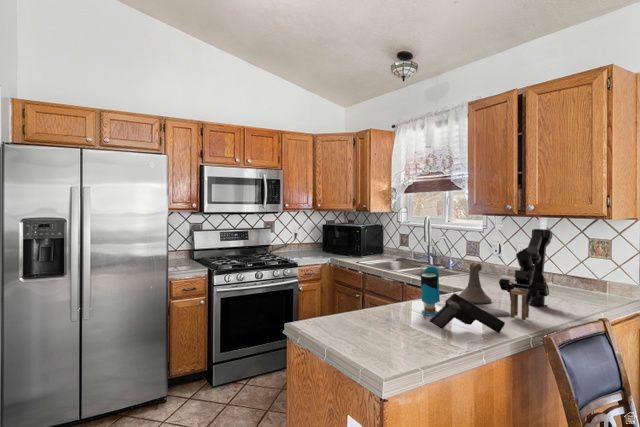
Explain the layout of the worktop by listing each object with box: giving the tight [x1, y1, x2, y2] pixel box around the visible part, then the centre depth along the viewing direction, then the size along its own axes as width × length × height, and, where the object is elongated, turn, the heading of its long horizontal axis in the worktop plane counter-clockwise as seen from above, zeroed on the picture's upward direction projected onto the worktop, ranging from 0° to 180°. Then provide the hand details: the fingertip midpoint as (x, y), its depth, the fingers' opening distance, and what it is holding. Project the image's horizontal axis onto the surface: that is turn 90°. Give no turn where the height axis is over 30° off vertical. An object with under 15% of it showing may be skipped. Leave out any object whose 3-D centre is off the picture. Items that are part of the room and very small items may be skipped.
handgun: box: [429, 292, 506, 334], centre depth 149 cm, size 2×24×15 cm, turn 78°
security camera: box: [420, 266, 441, 316], centre depth 171 cm, size 8×21×10 cm
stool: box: [509, 288, 530, 321], centre depth 162 cm, size 6×6×12 cm
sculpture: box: [458, 261, 492, 305], centre depth 196 cm, size 17×17×20 cm
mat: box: [484, 308, 510, 318], centre depth 172 cm, size 11×11×1 cm
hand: (518, 303), depth 161 cm, fingers closed on stool, 6 cm apart
